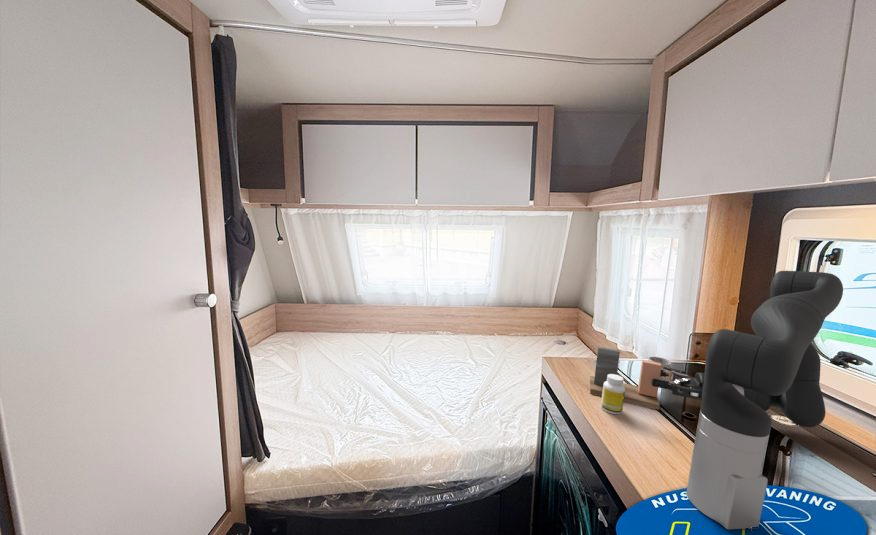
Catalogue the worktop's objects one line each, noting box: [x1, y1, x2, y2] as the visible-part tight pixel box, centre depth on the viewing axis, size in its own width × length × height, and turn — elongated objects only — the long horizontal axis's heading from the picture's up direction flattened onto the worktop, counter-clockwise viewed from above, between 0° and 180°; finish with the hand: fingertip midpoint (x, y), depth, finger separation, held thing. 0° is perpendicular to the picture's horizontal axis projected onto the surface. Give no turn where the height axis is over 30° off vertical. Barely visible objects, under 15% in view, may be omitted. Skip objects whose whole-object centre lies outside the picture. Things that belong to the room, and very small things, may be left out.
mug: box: [647, 356, 673, 381], centre depth 113 cm, size 10×7×7 cm
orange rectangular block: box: [637, 359, 662, 398], centre depth 96 cm, size 2×5×10 cm, turn 65°
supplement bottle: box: [600, 374, 625, 415], centre depth 90 cm, size 5×5×10 cm
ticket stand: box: [589, 346, 661, 411], centre depth 99 cm, size 10×18×14 cm, turn 65°
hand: (649, 376), depth 96 cm, fingers open, 8 cm apart
